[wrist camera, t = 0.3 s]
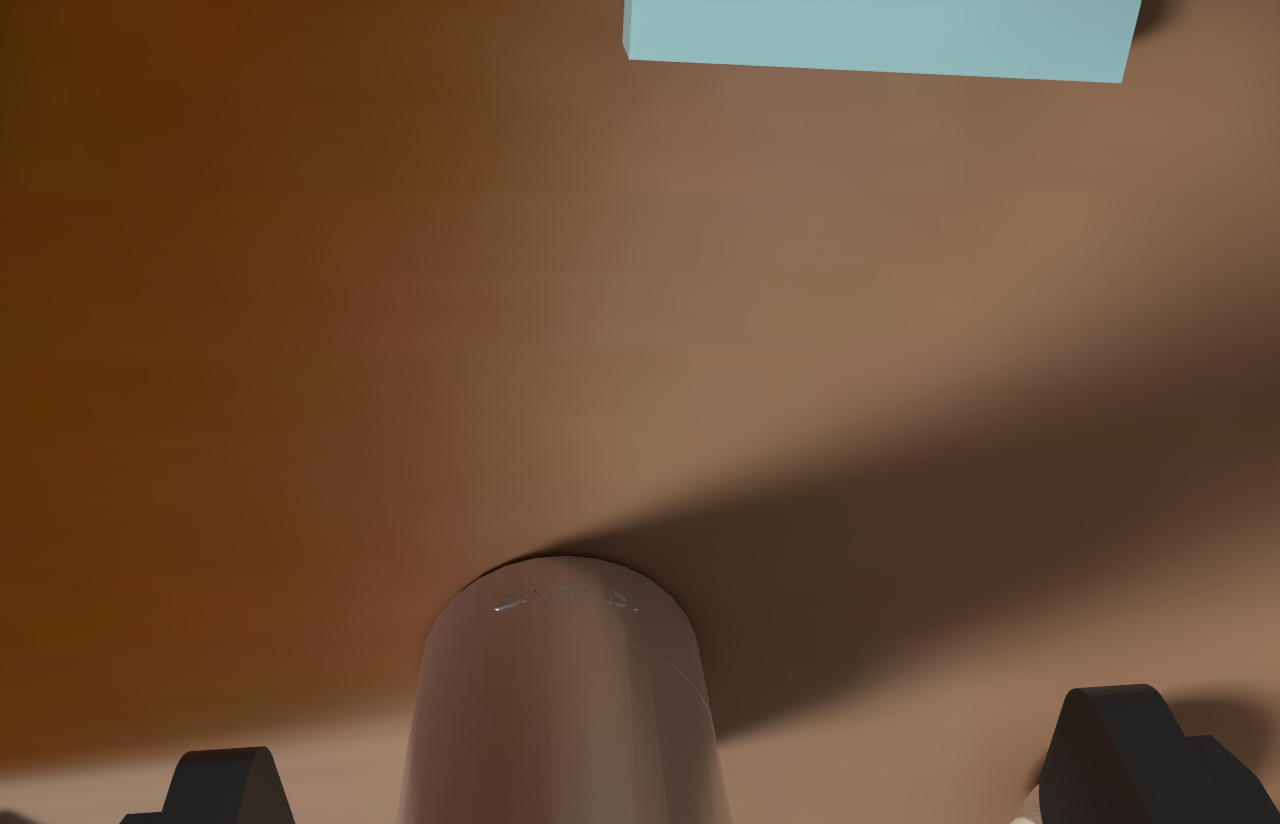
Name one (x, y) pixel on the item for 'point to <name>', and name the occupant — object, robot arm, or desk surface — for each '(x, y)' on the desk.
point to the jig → (892, 35)
